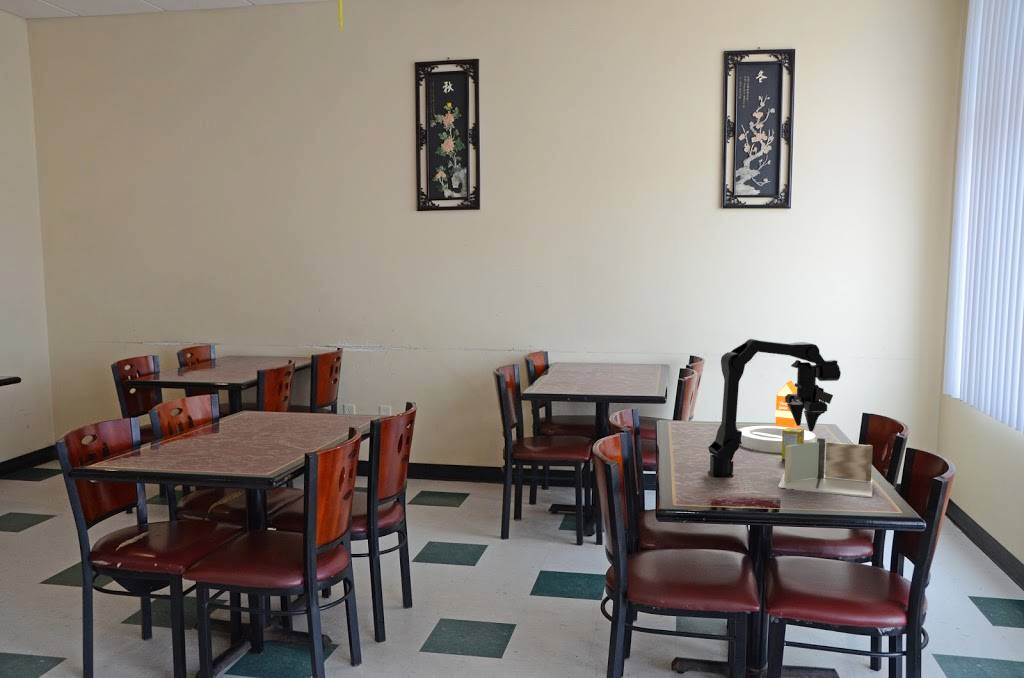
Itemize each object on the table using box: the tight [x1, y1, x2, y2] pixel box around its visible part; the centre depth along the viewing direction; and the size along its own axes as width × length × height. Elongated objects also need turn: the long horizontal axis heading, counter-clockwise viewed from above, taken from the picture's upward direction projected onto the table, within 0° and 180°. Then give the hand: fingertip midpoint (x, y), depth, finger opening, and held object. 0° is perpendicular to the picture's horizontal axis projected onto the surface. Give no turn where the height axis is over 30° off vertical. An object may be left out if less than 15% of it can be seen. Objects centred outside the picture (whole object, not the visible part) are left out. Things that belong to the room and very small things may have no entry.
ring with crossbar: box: [737, 425, 817, 454], centre depth 326 cm, size 28×28×5 cm
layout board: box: [777, 471, 874, 499], centre depth 269 cm, size 27×21×1 cm
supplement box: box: [781, 428, 805, 462], centre depth 300 cm, size 6×6×11 cm
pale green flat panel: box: [784, 441, 819, 482], centre depth 271 cm, size 2×13×11 cm, turn 117°
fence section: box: [816, 437, 874, 482], centre depth 272 cm, size 16×2×13 cm, turn 67°
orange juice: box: [774, 380, 801, 429], centre depth 352 cm, size 8×9×20 cm
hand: (804, 428), depth 283 cm, fingers open, 9 cm apart
